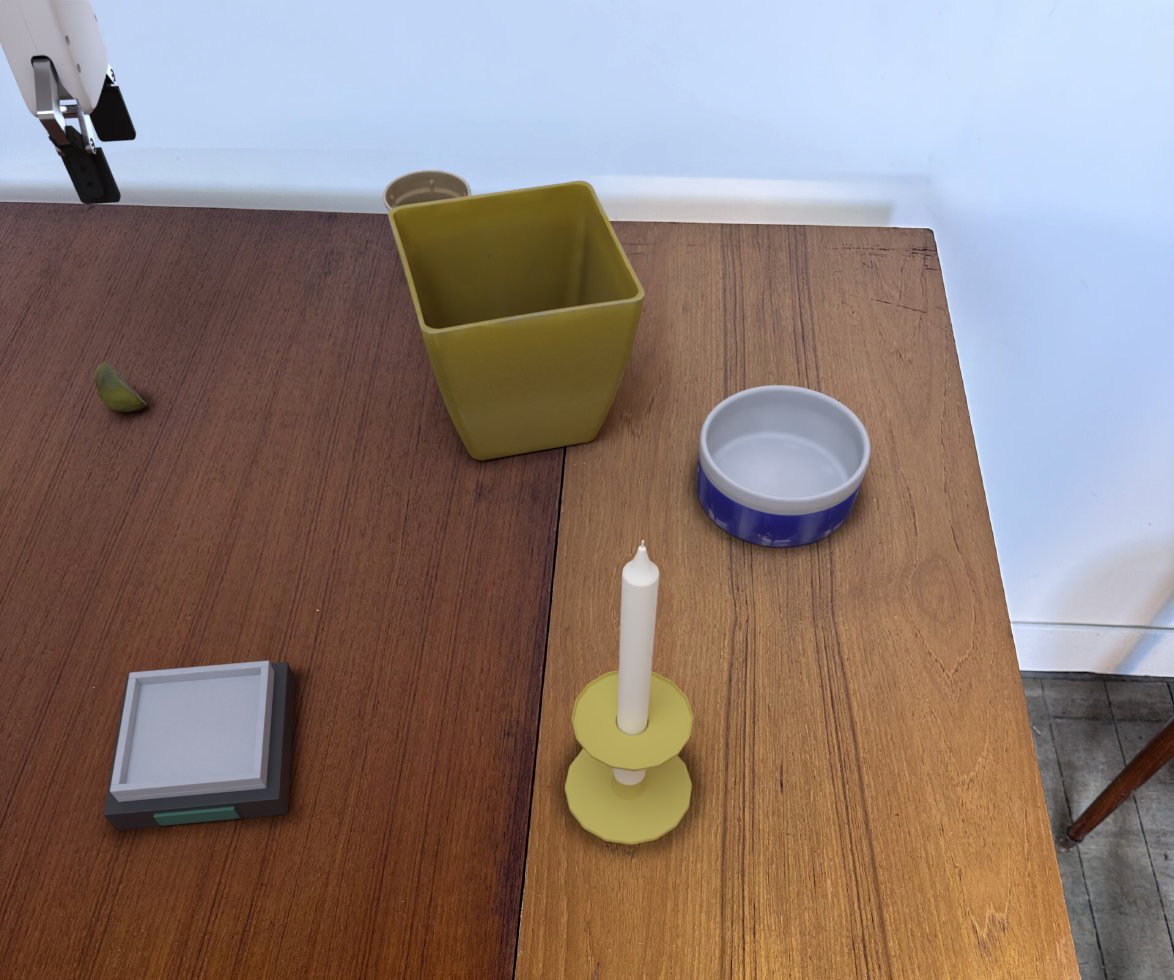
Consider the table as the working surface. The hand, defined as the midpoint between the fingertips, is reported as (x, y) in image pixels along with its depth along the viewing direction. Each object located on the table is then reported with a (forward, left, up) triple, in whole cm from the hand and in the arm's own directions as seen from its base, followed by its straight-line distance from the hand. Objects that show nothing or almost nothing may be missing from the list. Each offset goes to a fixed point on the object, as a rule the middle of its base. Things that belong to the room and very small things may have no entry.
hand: (110, 169), depth 83 cm
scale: (+5, -46, -21) cm, 51 cm away
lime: (-7, -3, -22) cm, 23 cm away
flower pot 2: (+33, -8, -22) cm, 40 cm away
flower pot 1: (+25, +17, -22) cm, 37 cm away
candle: (+38, -53, -22) cm, 69 cm away
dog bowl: (+56, -22, -22) cm, 64 cm away
